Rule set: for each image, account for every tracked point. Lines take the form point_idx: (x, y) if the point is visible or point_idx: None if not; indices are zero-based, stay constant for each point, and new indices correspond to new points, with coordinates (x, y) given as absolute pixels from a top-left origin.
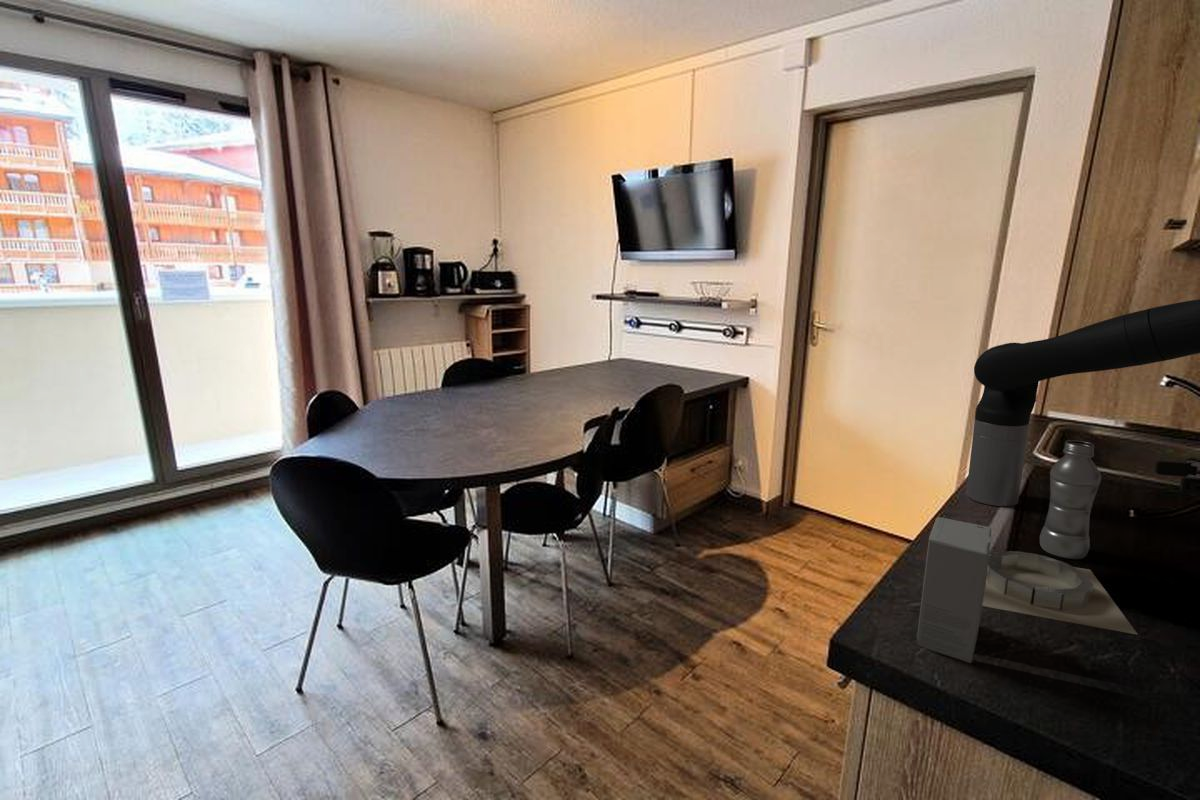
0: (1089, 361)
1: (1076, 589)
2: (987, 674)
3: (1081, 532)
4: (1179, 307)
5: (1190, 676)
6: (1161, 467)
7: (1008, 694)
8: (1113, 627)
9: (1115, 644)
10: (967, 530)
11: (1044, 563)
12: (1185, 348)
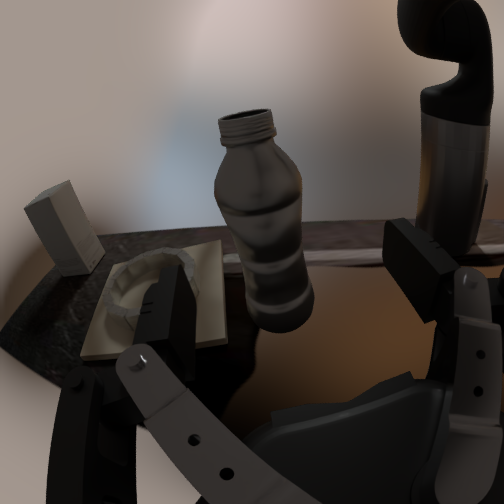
0: None
1: (111, 304)
2: (55, 283)
3: (249, 291)
4: None
5: (47, 380)
6: (389, 244)
7: (42, 291)
8: (88, 340)
9: (79, 345)
10: (46, 193)
11: None
12: None
